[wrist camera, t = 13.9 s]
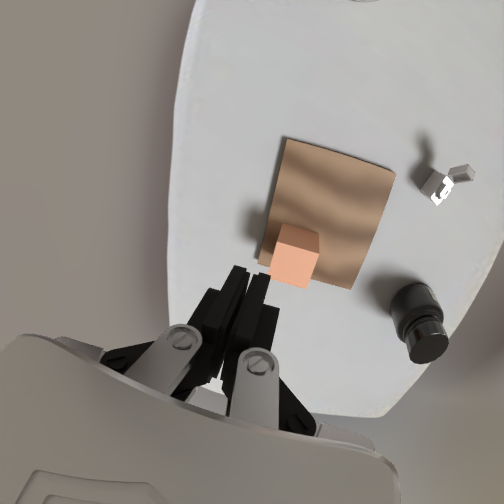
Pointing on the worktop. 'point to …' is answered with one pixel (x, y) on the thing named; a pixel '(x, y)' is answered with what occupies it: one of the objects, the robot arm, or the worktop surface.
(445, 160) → the worktop surface
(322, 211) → the base board
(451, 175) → the lighter
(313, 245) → the salmon orange block
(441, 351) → the ink bottle
